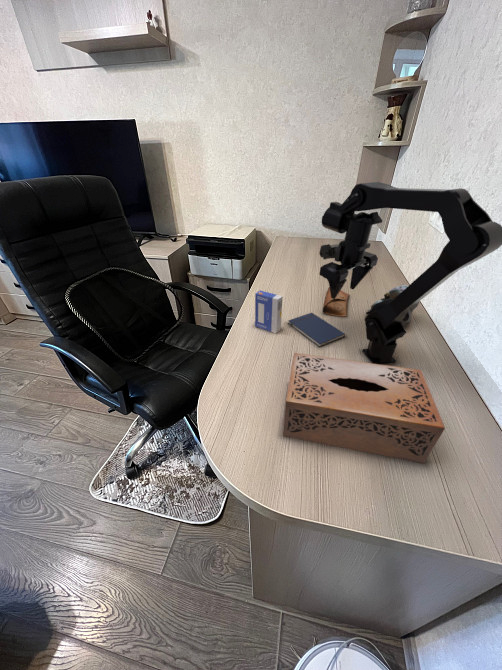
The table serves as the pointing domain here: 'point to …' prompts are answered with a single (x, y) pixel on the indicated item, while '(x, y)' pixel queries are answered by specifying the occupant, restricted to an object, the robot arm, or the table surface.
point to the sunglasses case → (336, 304)
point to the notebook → (316, 329)
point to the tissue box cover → (362, 407)
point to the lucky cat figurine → (393, 294)
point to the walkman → (268, 311)
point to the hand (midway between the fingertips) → (342, 293)
